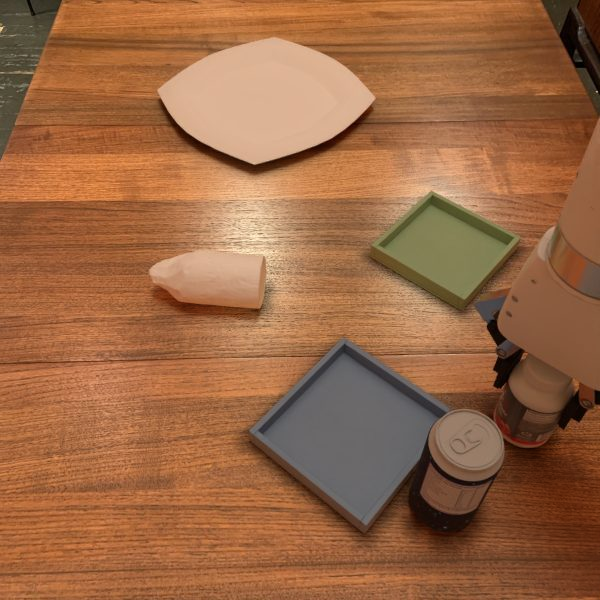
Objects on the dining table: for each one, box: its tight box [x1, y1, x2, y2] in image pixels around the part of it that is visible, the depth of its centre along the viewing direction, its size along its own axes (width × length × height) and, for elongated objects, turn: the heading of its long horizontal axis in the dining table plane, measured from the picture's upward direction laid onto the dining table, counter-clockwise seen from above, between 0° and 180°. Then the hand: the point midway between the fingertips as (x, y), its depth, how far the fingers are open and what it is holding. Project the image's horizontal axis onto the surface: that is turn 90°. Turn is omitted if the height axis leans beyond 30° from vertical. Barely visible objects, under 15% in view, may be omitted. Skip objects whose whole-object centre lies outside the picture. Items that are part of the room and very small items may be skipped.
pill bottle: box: [493, 352, 576, 449], centre depth 57 cm, size 5×5×10 cm
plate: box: [156, 36, 377, 166], centre depth 93 cm, size 27×27×2 cm
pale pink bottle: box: [148, 249, 267, 310], centre depth 69 cm, size 6×12×6 cm, turn 84°
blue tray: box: [248, 336, 454, 535], centre depth 60 cm, size 13×14×2 cm
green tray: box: [369, 190, 522, 312], centre depth 75 cm, size 12×12×2 cm
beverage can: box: [408, 408, 506, 534], centre depth 52 cm, size 6×6×12 cm
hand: (535, 395), depth 57 cm, fingers closed on pill bottle, 5 cm apart
